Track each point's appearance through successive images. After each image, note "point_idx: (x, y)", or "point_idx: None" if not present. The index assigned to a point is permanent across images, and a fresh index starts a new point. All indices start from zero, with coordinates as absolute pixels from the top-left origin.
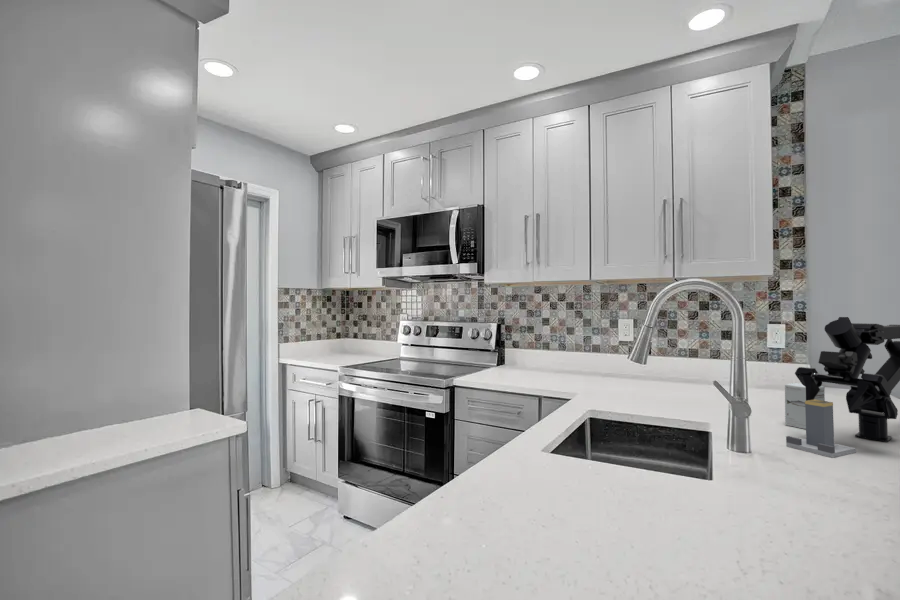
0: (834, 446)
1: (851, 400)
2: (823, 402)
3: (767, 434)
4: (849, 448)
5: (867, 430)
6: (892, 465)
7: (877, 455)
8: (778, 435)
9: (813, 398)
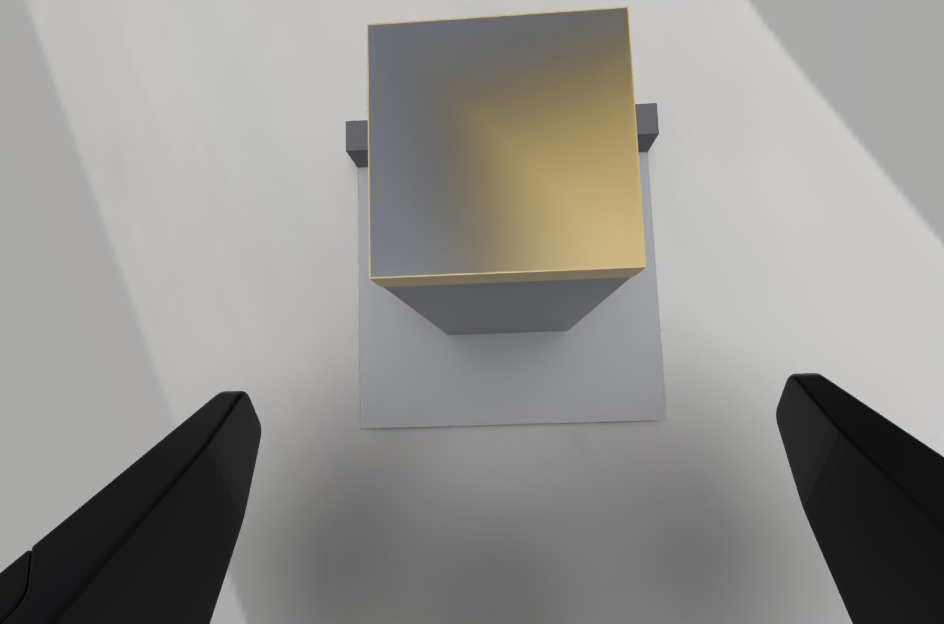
0: (444, 333)
1: (171, 482)
2: (423, 124)
3: (921, 324)
4: (375, 380)
5: None
6: (141, 326)
7: (274, 486)
8: (869, 378)
9: (838, 576)
